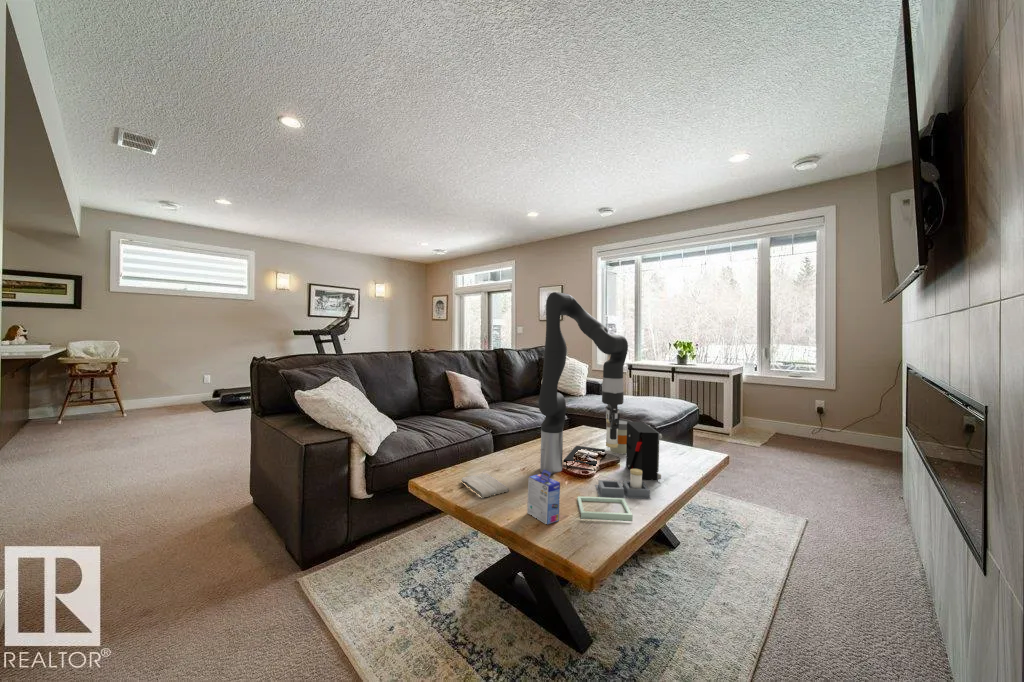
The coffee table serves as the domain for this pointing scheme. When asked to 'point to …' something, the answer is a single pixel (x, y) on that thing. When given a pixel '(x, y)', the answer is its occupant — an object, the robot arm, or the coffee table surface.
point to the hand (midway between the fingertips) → (611, 437)
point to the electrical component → (643, 450)
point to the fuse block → (624, 487)
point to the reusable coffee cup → (621, 437)
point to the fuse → (609, 442)
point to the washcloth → (484, 485)
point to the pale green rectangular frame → (604, 515)
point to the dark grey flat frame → (572, 453)
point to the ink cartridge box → (543, 498)
